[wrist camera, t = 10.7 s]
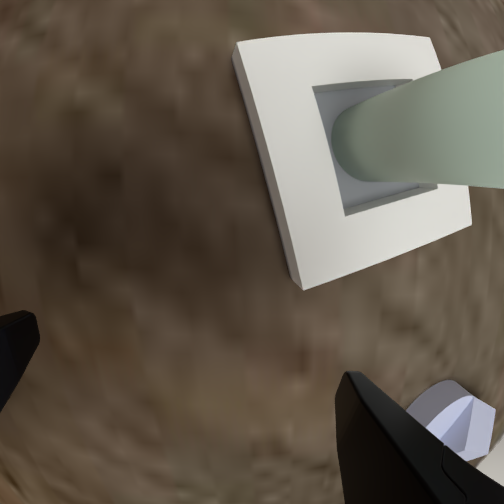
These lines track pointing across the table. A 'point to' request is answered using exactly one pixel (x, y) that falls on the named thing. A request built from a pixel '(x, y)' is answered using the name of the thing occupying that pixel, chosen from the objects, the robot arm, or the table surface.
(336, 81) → the socket block
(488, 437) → the wedge on round base
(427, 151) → the green post
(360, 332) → the table surface
